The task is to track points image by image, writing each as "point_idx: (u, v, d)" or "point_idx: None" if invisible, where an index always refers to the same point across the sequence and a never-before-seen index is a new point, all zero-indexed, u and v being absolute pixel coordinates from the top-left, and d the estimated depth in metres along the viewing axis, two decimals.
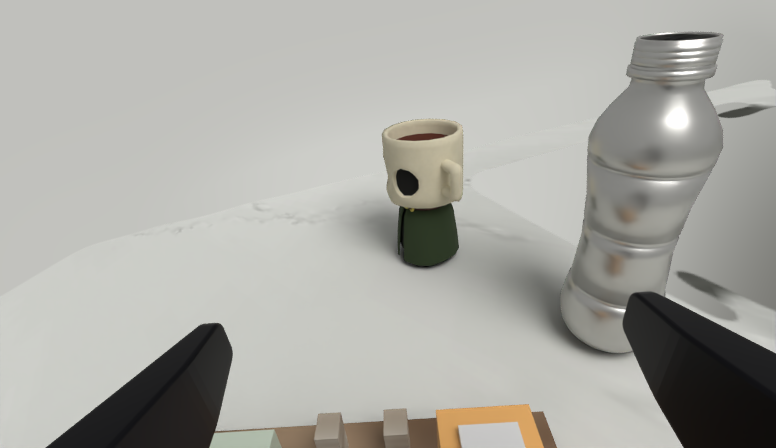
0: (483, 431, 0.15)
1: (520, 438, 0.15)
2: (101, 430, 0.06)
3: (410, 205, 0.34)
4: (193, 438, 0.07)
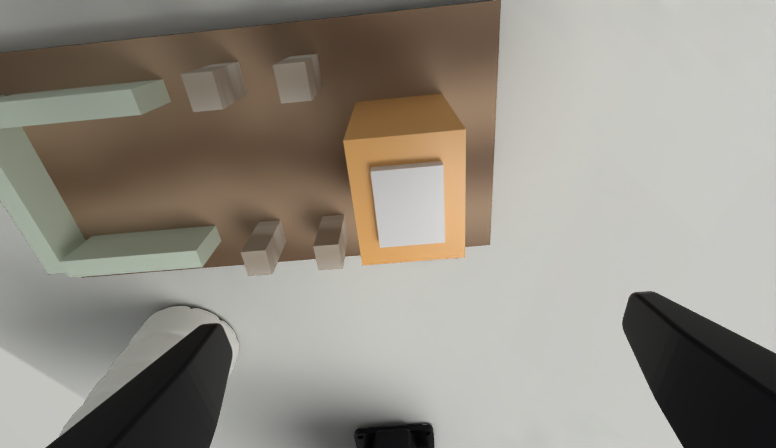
0: (400, 177, 0.13)
1: (441, 184, 0.13)
2: (101, 430, 0.06)
3: None
4: (193, 438, 0.07)
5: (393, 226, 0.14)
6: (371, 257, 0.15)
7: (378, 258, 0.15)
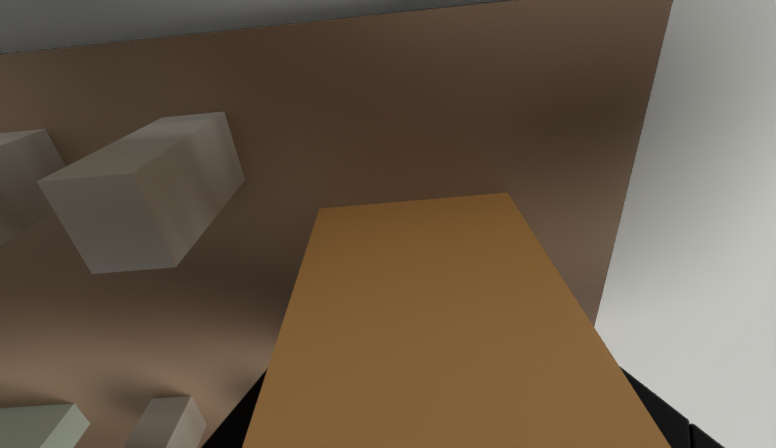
0: None
1: None
2: None
3: None
4: None
5: None
6: None
7: None
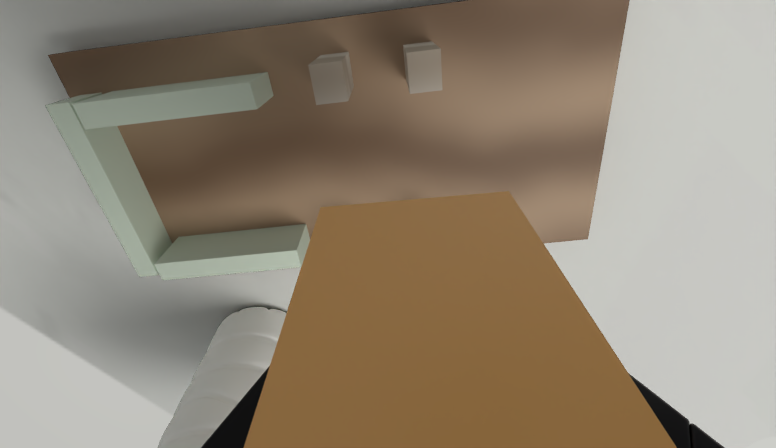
0: None
1: None
2: None
3: None
4: None
5: None
6: None
7: None
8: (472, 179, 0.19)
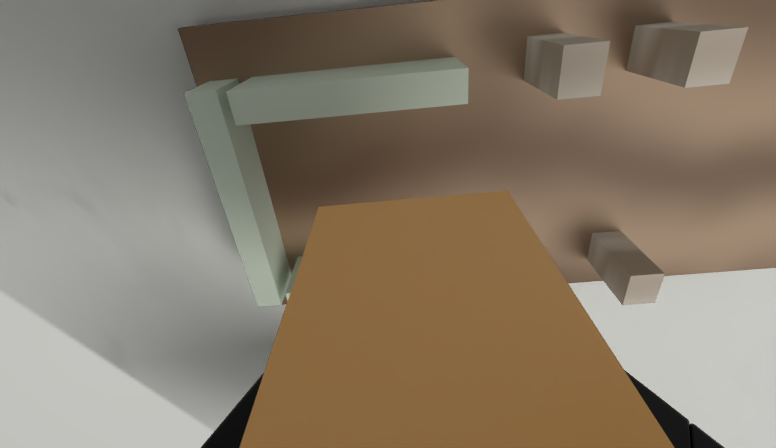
0: None
1: None
2: None
3: None
4: None
5: None
6: None
7: None
8: (670, 195, 0.16)
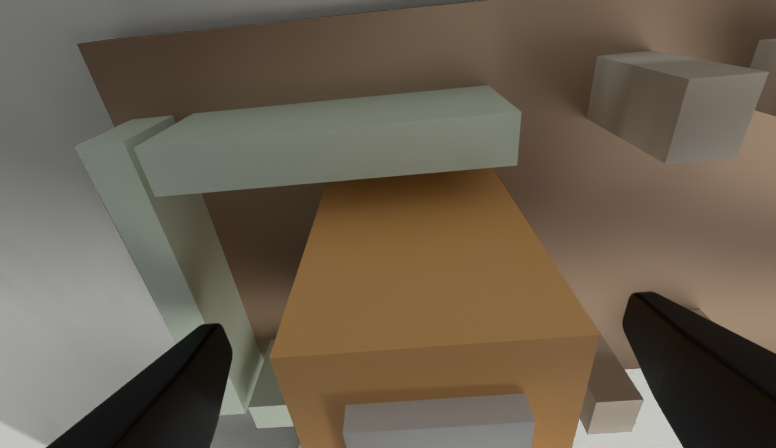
0: (421, 442, 0.05)
1: None
2: (101, 430, 0.06)
3: None
4: (193, 438, 0.07)
5: None
6: None
7: None
8: (774, 266, 0.11)
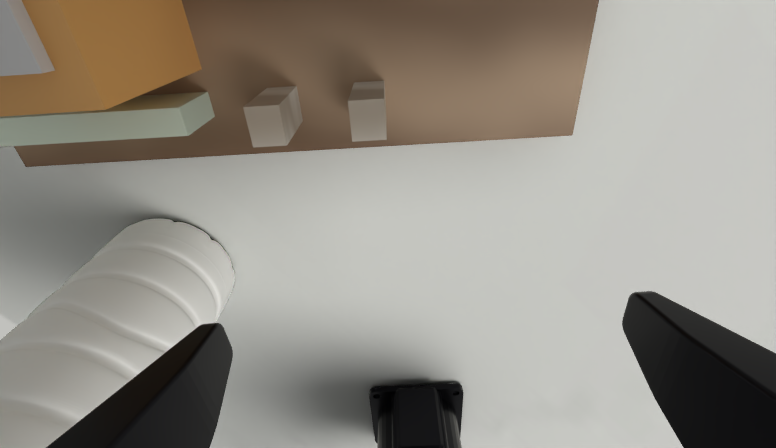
0: None
1: None
2: (101, 430, 0.06)
3: None
4: (193, 438, 0.07)
5: None
6: None
7: None
8: (426, 34, 0.14)
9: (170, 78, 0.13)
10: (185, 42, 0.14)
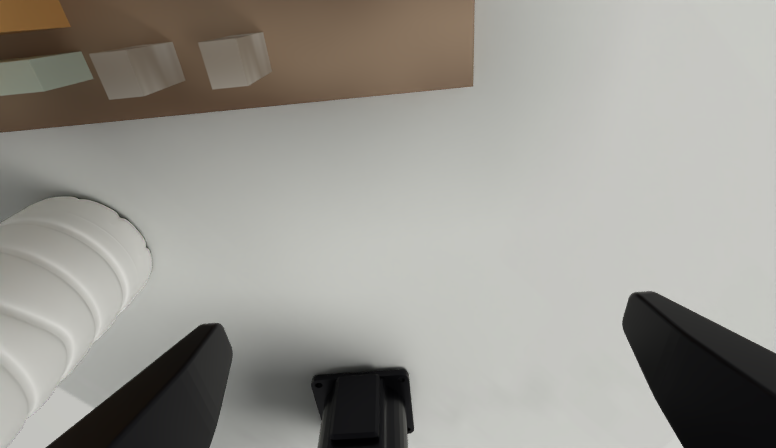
0: None
1: None
2: (101, 430, 0.06)
3: None
4: (193, 438, 0.07)
5: None
6: None
7: None
8: None
9: (13, 26, 0.12)
10: None
